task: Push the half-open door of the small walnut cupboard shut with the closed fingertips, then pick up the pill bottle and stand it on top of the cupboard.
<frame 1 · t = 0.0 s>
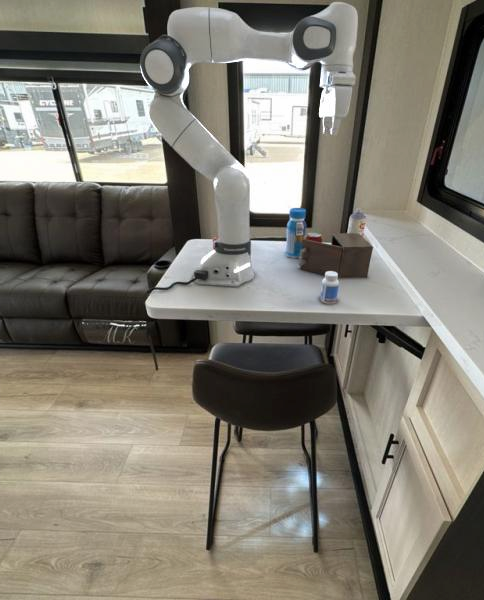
hand: (329, 134, 95), 48 cm above the table, tool pointing down, fingers open, 8 cm apart
soda can: (311, 262, 129), on the table
beverage bottle: (294, 255, 136), on the table
aerosol can: (351, 253, 140), on the table
pill bottle: (328, 300, 102), on the table
cupboard: (346, 269, 124), on the table
cupboard door: (318, 260, 115), point 6 cm above the table, hinge at 55.0°
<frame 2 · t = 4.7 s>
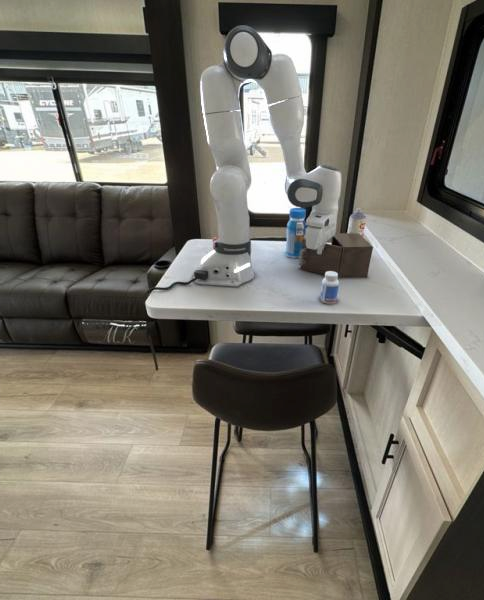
hand: (320, 253, 113), 9 cm above the table, tool pointing down, fingers closed
cupboard door: (318, 260, 115), point 6 cm above the table, hinge at 54.4°, touching gripper
everything else where it was.
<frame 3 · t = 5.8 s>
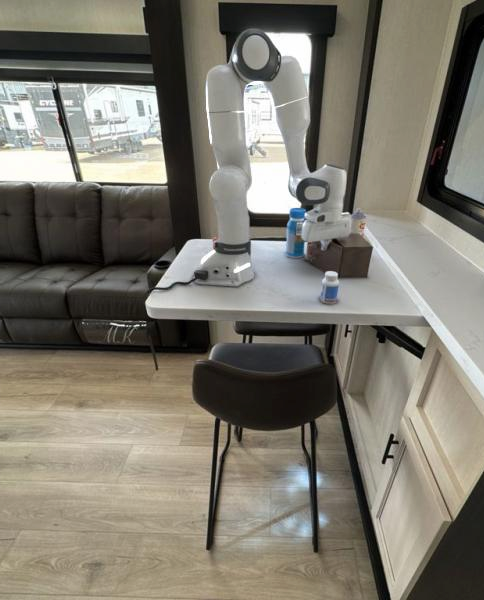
hand: (324, 250, 116), 9 cm above the table, tool pointing down, fingers closed
soda can: (313, 260, 131), on the table
cupboard door: (322, 256, 118), point 6 cm above the table, hinge at 26.3°, touching gripper
everything else where it was.
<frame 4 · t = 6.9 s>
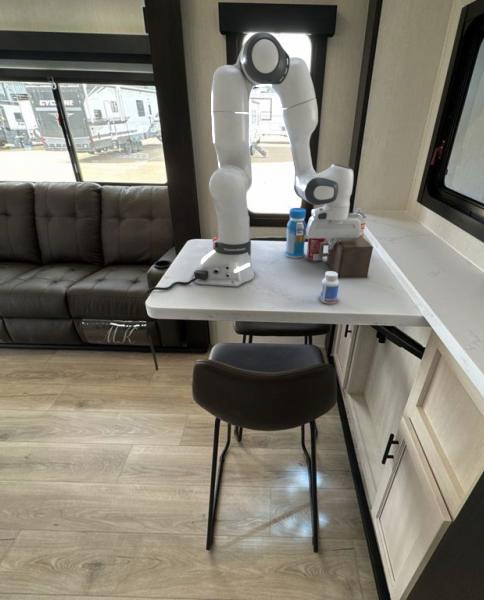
hand: (330, 248, 118), 9 cm above the table, tool pointing down, fingers closed
soda can: (314, 260, 132), on the table
cupboard door: (329, 255, 120), point 6 cm above the table, hinge at -0.1°, touching gripper
everything else where it was.
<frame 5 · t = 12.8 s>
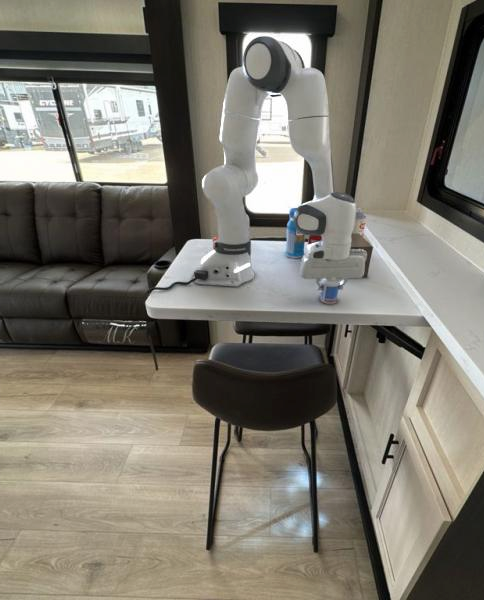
hand: (329, 289, 100), 4 cm above the table, tool pointing down, fingers closed on pill bottle, 5 cm apart
pill bottle: (328, 300, 102), on the table, touching gripper
cupboard door: (329, 255, 120), point 6 cm above the table, hinge at 0.0°
everything else where it was.
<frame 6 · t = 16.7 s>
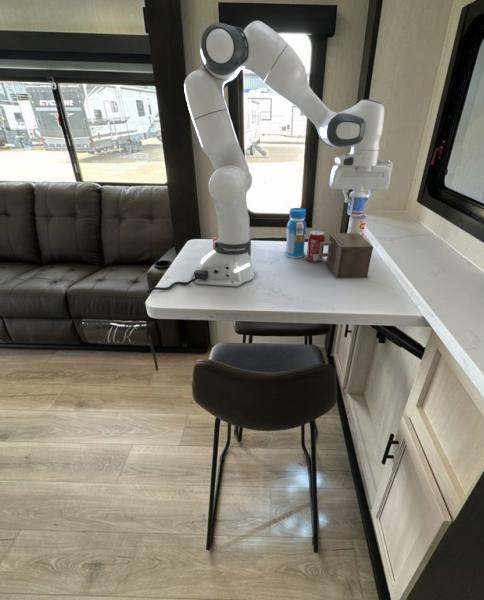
hand: (356, 202, 106), 27 cm above the table, tool pointing down, fingers closed on pill bottle, 5 cm apart
pill bottle: (354, 215, 108), point 23 cm above the table, touching gripper
everything else where it was.
when the fingers open (17 cm above the table, at t = 20.7 s): pill bottle stays where it is, resting on cupboard.
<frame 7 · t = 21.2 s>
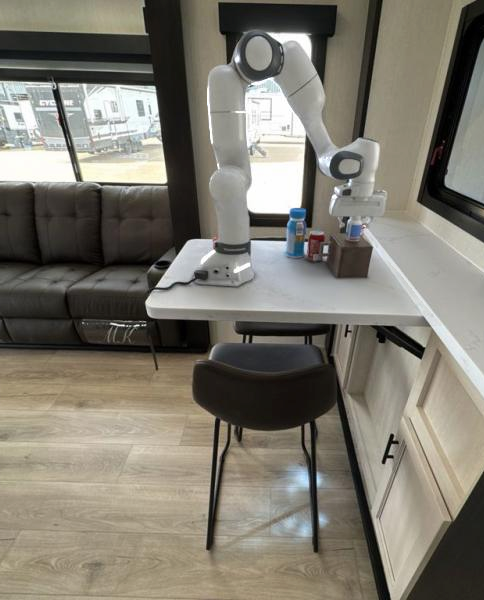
hand: (353, 227, 115), 17 cm above the table, tool pointing down, fingers open, 8 cm apart
pill bottle: (351, 240, 117), point 12 cm above the table, touching cupboard
everything else where it was.
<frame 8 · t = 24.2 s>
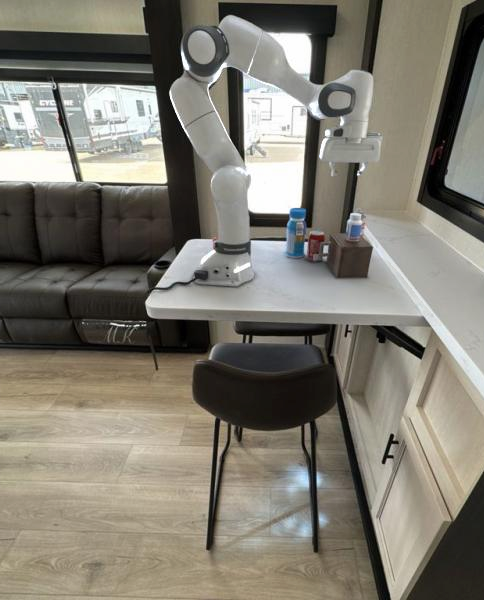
hand: (346, 176, 107), 35 cm above the table, tool pointing down, fingers open, 8 cm apart
nothing on the table moved.
at the end: cupboard door at +0° (first picture: +55°); pill bottle inside the target area on the cupboard (0.1 cm from its centre), point 12.4 cm above the cupboard's base; pill bottle tilted 0° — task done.
